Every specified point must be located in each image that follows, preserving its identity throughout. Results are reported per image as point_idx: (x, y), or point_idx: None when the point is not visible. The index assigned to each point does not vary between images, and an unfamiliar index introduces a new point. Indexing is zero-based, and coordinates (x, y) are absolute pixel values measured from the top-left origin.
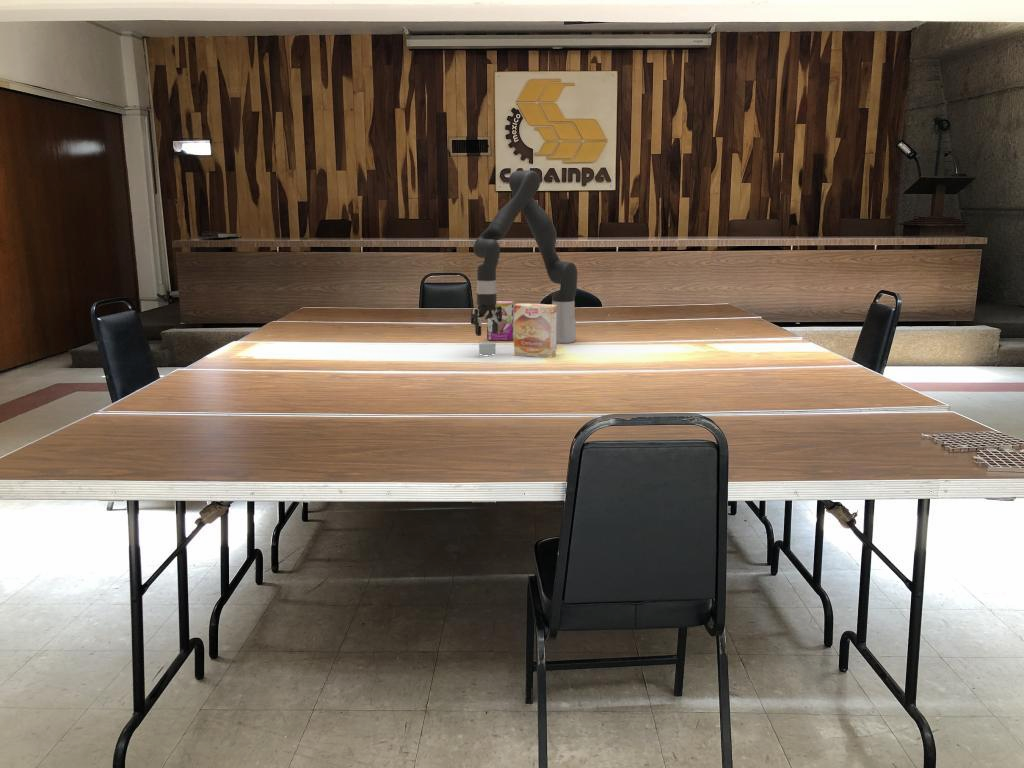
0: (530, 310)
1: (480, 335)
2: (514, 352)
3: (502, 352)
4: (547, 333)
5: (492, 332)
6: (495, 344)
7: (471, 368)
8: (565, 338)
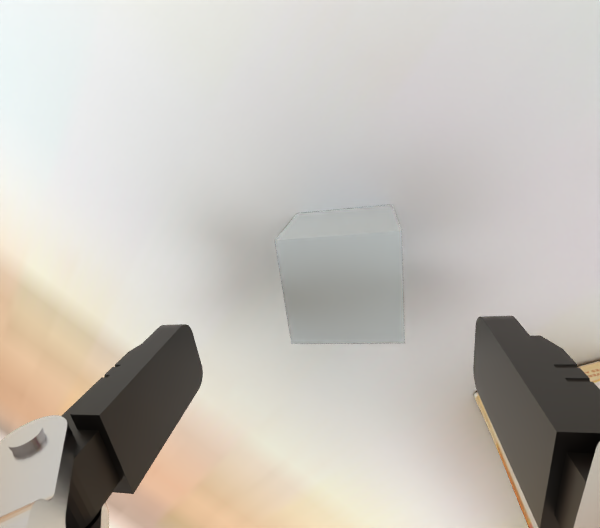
0: None
1: (192, 379)
2: (480, 409)
3: (509, 260)
4: None
5: (480, 321)
6: (402, 337)
7: None
8: None
